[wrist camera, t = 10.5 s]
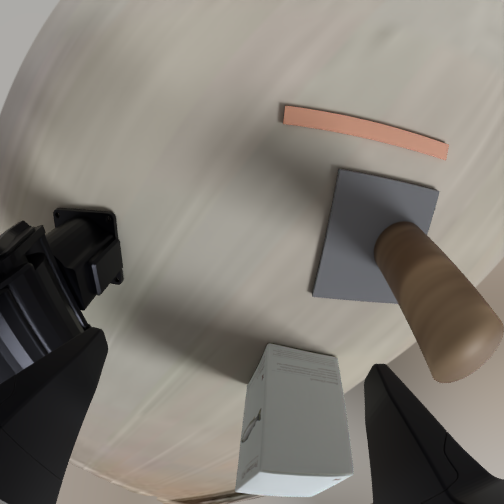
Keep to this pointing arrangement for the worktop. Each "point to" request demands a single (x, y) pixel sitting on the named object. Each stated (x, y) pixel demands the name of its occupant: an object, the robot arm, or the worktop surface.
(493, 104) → the worktop surface
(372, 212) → the mat
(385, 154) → the worktop surface
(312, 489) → the supplement box
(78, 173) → the worktop surface
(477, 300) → the pin
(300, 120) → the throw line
